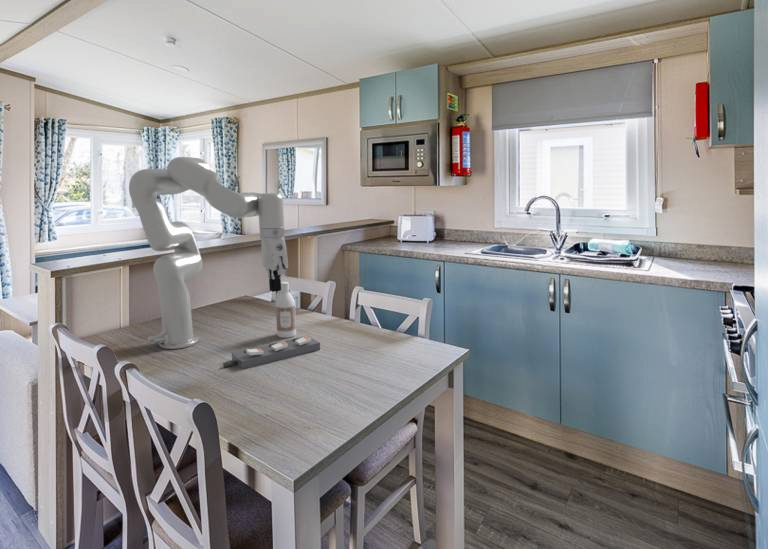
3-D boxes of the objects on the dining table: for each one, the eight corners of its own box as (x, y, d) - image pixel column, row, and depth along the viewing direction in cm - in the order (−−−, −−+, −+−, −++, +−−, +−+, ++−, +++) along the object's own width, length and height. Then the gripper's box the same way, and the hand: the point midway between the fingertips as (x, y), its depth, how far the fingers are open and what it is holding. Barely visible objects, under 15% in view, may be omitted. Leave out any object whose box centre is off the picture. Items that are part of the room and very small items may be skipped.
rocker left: (249, 355, 140) (250, 352, 140) (245, 352, 142) (246, 349, 142) (263, 354, 143) (263, 351, 143) (259, 351, 145) (259, 348, 145)
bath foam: (276, 338, 165) (273, 285, 161) (278, 332, 172) (275, 280, 168) (295, 337, 166) (293, 284, 162) (296, 331, 173) (294, 280, 169)
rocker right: (299, 345, 150) (299, 342, 150) (295, 342, 153) (294, 340, 152) (311, 340, 153) (310, 338, 152) (306, 338, 155) (306, 335, 155)
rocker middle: (275, 351, 145) (275, 348, 145) (271, 348, 148) (270, 345, 147) (288, 346, 148) (287, 343, 147) (283, 343, 150) (283, 340, 150)
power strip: (229, 372, 136) (228, 363, 135) (219, 362, 143) (218, 354, 142) (320, 349, 154) (319, 342, 154) (307, 342, 161) (307, 335, 161)
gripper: (294, 234, 138) (296, 293, 142) (273, 230, 150) (276, 285, 153) (270, 236, 134) (274, 297, 137) (251, 232, 145) (255, 288, 149)
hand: (275, 290), depth 145 cm, fingers closed
